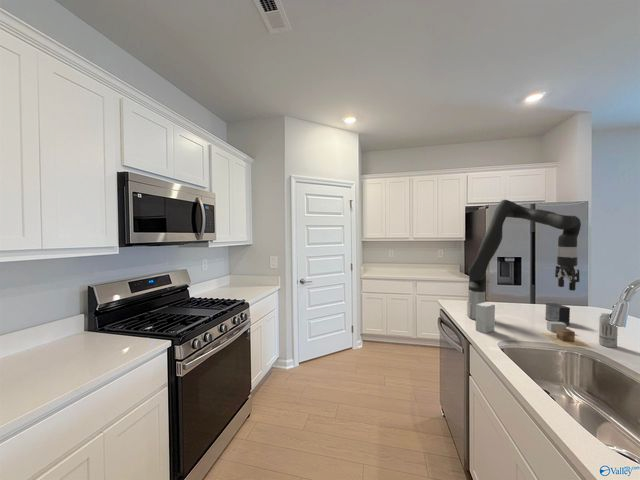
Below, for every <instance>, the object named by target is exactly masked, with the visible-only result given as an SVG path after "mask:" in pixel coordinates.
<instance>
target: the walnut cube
mask: <svg viewBox="0 0 640 480" xmlns="http://www.w3.org/2000/svg"><path fill="white" fill-rule="evenodd" d="M555 334H556V338H558V339H560V340H561V341H565V342H574V340H575V338H576V336H575V335H576V334H575V331H573V330H571V329H570V328H567V327H566V328H557V332H555Z"/></svg>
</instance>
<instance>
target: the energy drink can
mask: <svg viewBox="0 0 640 480" xmlns="http://www.w3.org/2000/svg"><path fill="white" fill-rule="evenodd" d="M610 314H611V313H604V312H603V313H601V314H600V316H599V317H598V319H599V321H598V324H599V325H598V326H599V327H598V344H600V345H601V346H603V347H605V348H609V349H610V348H611V349H615V348H616V347H618V327H616V326H614V325H611V324H610V323H609V322H608V321H609V317H610Z"/></svg>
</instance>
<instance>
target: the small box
mask: <svg viewBox="0 0 640 480" xmlns="http://www.w3.org/2000/svg"><path fill="white" fill-rule="evenodd" d="M570 316H571V307H568V306H566V305H562V304H559V303H556V302H555V303H554V302H552V303H551V302H545V321H546V322H547V321H551V322H563V323H565V324H566V325H567V326H570V320H571V317H570Z"/></svg>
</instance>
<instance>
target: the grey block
mask: <svg viewBox="0 0 640 480" xmlns="http://www.w3.org/2000/svg"><path fill="white" fill-rule="evenodd" d="M567 326H568V325H566V324H565V323H563V322H551V321H547V320H546V330H547V331H548V332H549V333H557V328H567Z"/></svg>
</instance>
